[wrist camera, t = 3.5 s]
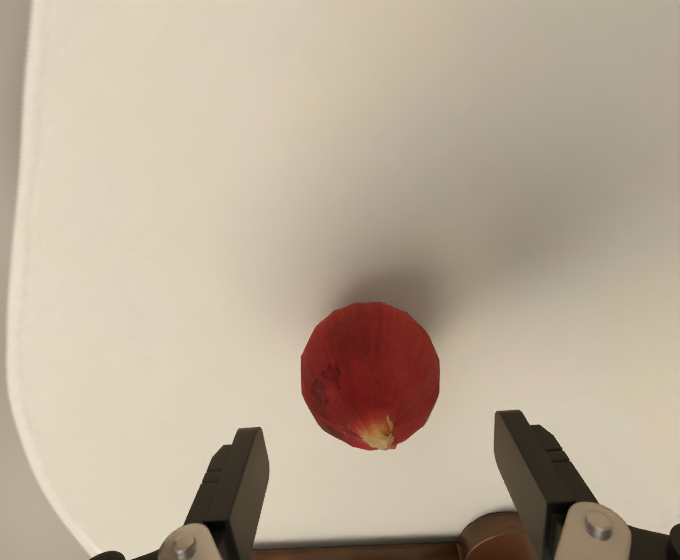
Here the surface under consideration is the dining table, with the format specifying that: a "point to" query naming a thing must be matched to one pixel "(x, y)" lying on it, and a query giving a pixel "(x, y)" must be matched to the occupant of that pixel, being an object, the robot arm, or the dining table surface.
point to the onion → (370, 375)
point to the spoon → (433, 546)
